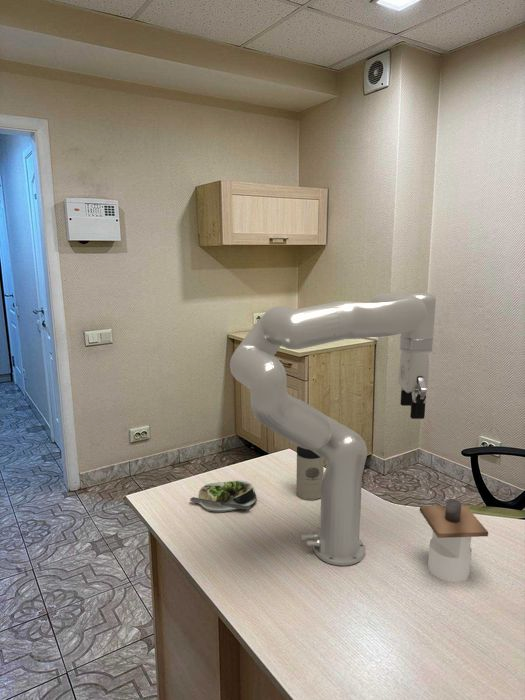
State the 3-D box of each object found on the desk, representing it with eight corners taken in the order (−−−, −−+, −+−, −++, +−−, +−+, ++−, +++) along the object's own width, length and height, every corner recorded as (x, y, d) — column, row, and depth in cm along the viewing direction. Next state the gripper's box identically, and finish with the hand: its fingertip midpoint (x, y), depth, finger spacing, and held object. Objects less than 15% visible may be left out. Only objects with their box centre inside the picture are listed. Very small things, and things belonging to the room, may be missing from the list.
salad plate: (190, 520, 136) (190, 504, 135) (189, 488, 153) (189, 475, 152) (260, 513, 139) (260, 498, 138) (251, 483, 156) (251, 470, 155)
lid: (437, 537, 106) (439, 516, 105) (419, 510, 117) (421, 491, 116) (487, 536, 107) (490, 515, 105) (465, 509, 117) (466, 490, 116)
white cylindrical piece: (419, 563, 117) (422, 517, 114) (449, 553, 120) (452, 509, 117) (447, 587, 108) (451, 538, 106) (478, 576, 112) (483, 528, 109)
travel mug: (297, 486, 153) (297, 432, 149) (323, 488, 152) (324, 433, 148) (295, 499, 145) (296, 442, 142) (322, 501, 144) (324, 444, 141)
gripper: (392, 337, 128) (389, 400, 131) (409, 351, 111) (405, 423, 114) (421, 337, 128) (417, 400, 131) (443, 352, 111) (438, 424, 114)
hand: (411, 411), depth 123 cm, fingers open, 9 cm apart
